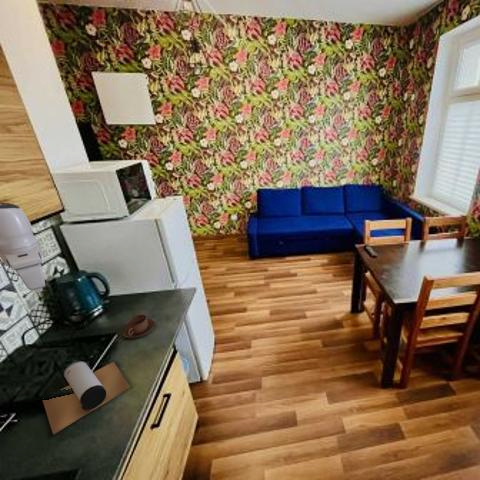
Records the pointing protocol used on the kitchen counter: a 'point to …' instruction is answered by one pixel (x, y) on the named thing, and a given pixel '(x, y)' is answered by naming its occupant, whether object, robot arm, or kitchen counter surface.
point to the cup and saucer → (138, 326)
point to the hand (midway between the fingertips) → (39, 290)
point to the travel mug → (85, 385)
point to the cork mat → (70, 407)
